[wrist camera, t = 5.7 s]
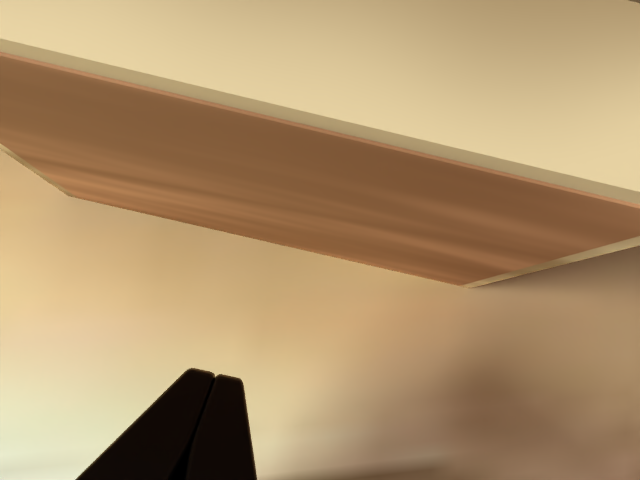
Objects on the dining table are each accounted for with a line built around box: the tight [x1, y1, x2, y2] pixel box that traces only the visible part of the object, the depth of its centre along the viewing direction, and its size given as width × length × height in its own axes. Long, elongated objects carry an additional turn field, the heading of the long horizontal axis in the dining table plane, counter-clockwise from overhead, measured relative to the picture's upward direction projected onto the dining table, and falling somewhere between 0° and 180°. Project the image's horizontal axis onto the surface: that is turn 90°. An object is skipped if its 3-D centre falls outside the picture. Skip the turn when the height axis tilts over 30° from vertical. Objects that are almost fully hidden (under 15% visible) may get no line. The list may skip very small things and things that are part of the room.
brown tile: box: [0, 0, 640, 288], centre depth 12 cm, size 3×12×10 cm, turn 78°
